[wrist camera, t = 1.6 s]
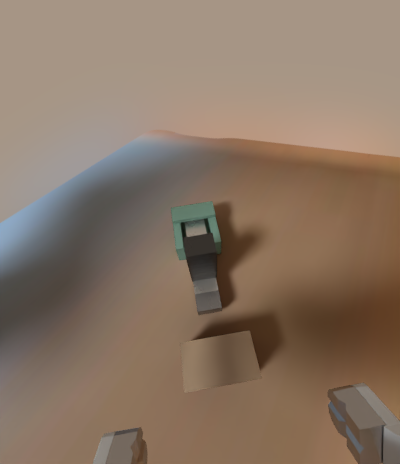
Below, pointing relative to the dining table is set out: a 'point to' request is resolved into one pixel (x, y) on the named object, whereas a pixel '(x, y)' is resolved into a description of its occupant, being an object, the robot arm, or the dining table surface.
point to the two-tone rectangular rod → (202, 266)
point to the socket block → (218, 361)
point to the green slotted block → (190, 214)
